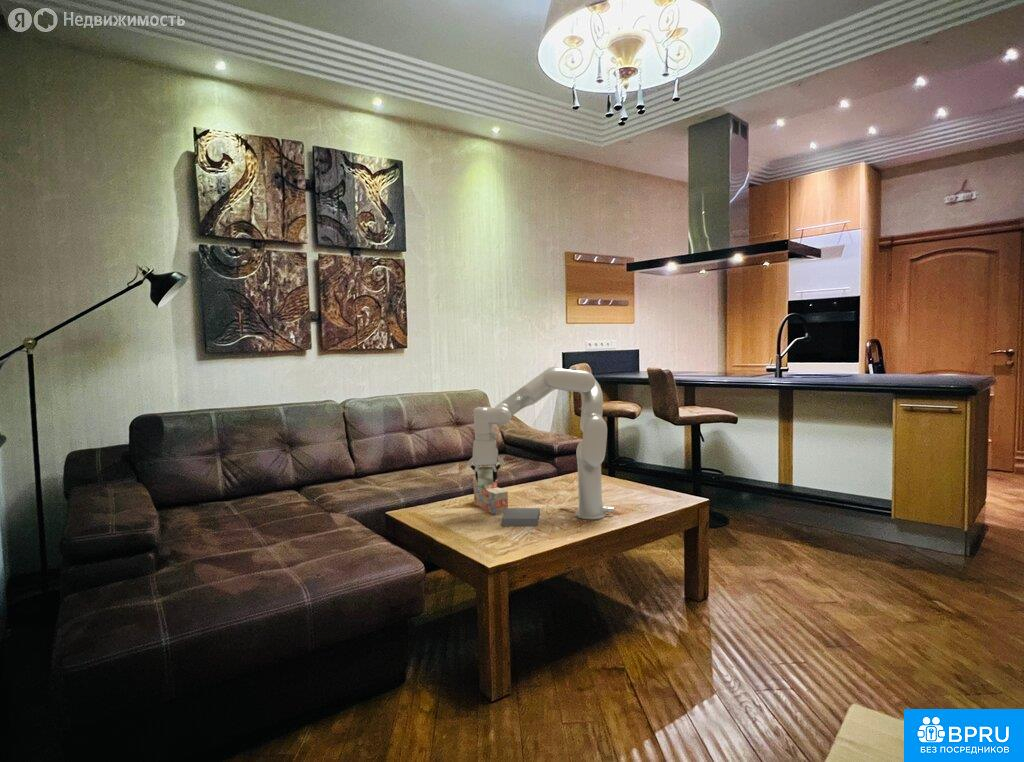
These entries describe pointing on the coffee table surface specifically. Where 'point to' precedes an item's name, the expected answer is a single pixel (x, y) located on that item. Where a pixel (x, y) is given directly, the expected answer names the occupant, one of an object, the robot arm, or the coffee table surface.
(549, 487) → the coffee table surface
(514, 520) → the plinth
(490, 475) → the sage cube
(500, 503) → the stack of blocks
